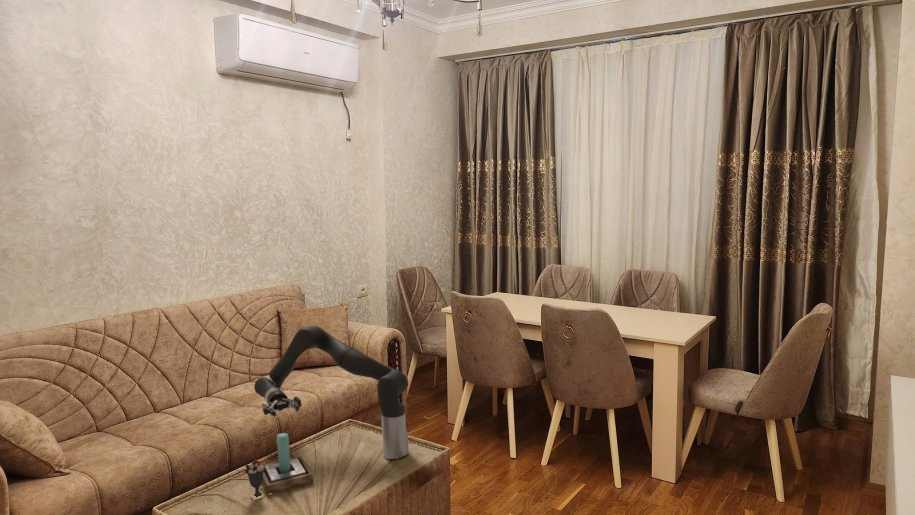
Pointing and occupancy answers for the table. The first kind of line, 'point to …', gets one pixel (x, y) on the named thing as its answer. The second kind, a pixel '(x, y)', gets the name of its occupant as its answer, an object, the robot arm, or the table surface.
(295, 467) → the plate
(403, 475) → the table surface
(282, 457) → the peg
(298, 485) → the box
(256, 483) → the sundae
